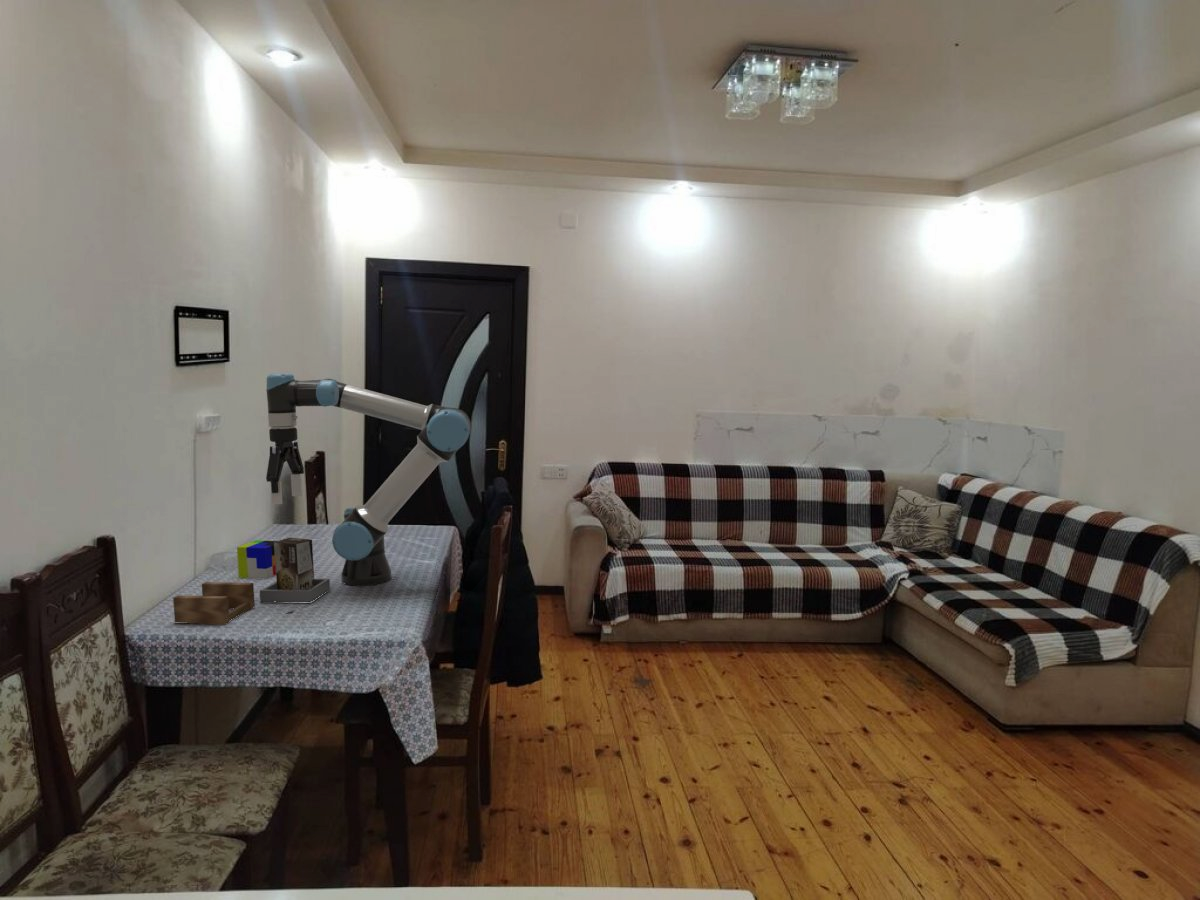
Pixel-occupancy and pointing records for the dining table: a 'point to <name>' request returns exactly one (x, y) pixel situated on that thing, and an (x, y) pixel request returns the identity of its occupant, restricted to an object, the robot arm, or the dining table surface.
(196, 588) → the dining table surface
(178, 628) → the dining table surface
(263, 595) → the tray
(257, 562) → the puzzle toy
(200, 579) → the dining table surface
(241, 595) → the holder
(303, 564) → the coffee box
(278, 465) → the robot arm
